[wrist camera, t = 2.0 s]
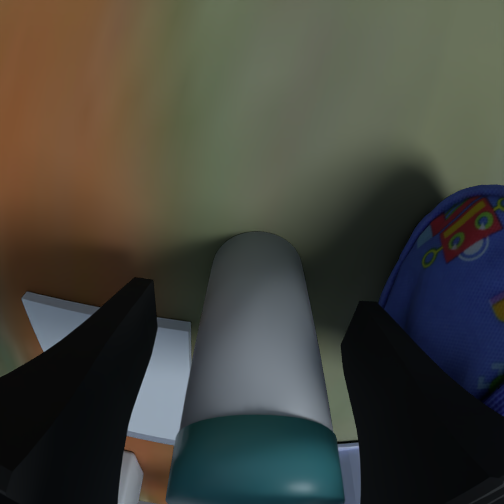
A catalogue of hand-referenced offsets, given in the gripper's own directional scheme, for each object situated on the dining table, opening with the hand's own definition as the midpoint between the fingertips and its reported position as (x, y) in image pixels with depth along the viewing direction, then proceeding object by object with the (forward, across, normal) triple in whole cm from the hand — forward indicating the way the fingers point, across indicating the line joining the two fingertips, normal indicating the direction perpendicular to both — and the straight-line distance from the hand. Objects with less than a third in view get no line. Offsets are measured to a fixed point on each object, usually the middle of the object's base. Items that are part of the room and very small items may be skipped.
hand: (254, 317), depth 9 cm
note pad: (+3, +7, +10) cm, 12 cm away
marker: (+3, 0, 0) cm, 3 cm away
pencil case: (+3, -16, +1) cm, 16 cm away
